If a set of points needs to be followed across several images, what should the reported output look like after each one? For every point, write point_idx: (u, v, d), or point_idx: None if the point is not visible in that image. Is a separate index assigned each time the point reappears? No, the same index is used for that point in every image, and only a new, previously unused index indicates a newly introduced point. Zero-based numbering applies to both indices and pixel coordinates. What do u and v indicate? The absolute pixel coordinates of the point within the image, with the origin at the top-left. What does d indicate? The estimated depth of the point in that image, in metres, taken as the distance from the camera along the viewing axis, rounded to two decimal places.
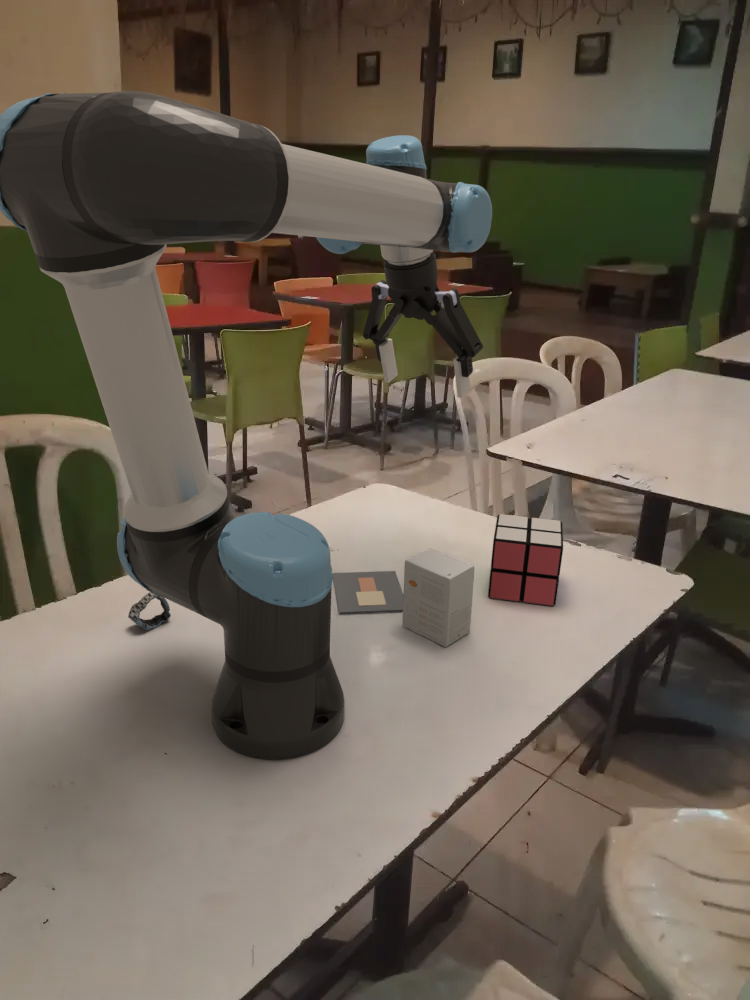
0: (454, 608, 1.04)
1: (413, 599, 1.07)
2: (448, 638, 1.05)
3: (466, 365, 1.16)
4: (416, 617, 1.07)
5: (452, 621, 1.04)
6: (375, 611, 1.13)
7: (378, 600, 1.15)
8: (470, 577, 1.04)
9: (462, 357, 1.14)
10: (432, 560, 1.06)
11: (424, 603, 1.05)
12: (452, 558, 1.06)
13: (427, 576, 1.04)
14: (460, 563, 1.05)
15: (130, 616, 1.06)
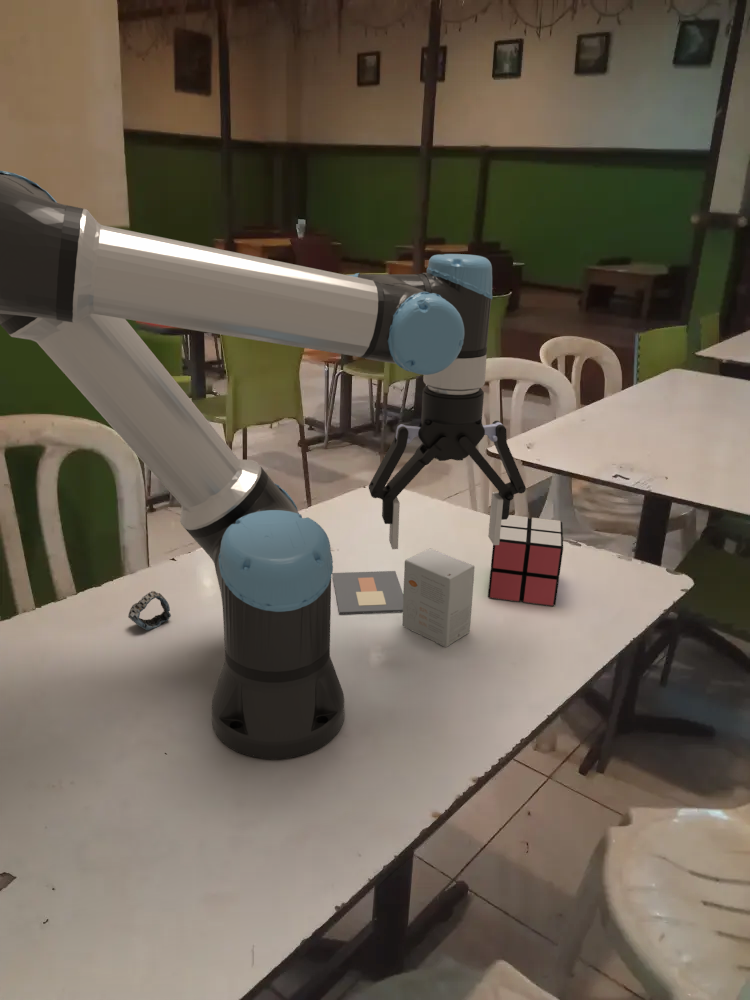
0: (455, 608, 1.04)
1: (413, 599, 1.07)
2: (448, 638, 1.05)
3: (508, 505, 1.03)
4: (416, 617, 1.07)
5: (452, 621, 1.04)
6: (375, 611, 1.13)
7: (378, 600, 1.15)
8: (470, 577, 1.04)
9: (512, 495, 1.01)
10: (432, 560, 1.06)
11: (424, 603, 1.05)
12: (452, 558, 1.06)
13: (427, 576, 1.04)
14: (460, 563, 1.05)
15: (130, 616, 1.06)
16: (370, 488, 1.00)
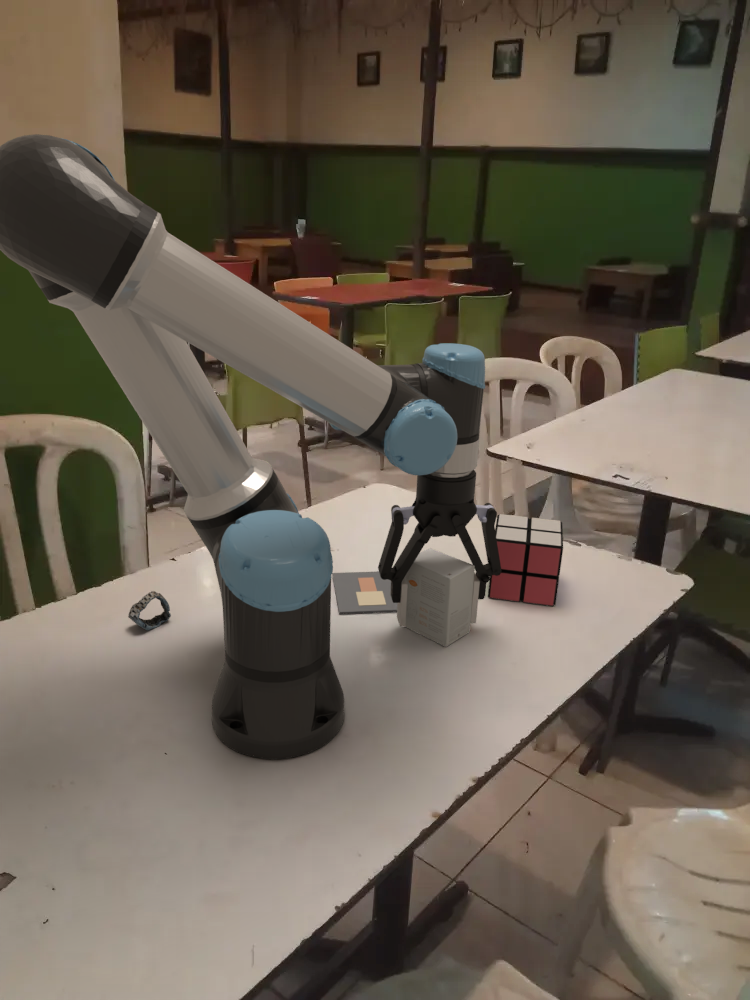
0: (455, 608, 1.04)
1: (413, 599, 1.07)
2: (448, 638, 1.05)
3: (484, 586, 1.07)
4: (416, 617, 1.07)
5: (452, 620, 1.04)
6: (375, 611, 1.13)
7: (378, 600, 1.15)
8: (470, 576, 1.04)
9: (488, 578, 1.05)
10: (432, 560, 1.06)
11: (424, 603, 1.05)
12: (452, 558, 1.06)
13: (427, 575, 1.04)
14: (460, 563, 1.05)
15: (130, 616, 1.06)
16: (379, 569, 1.04)
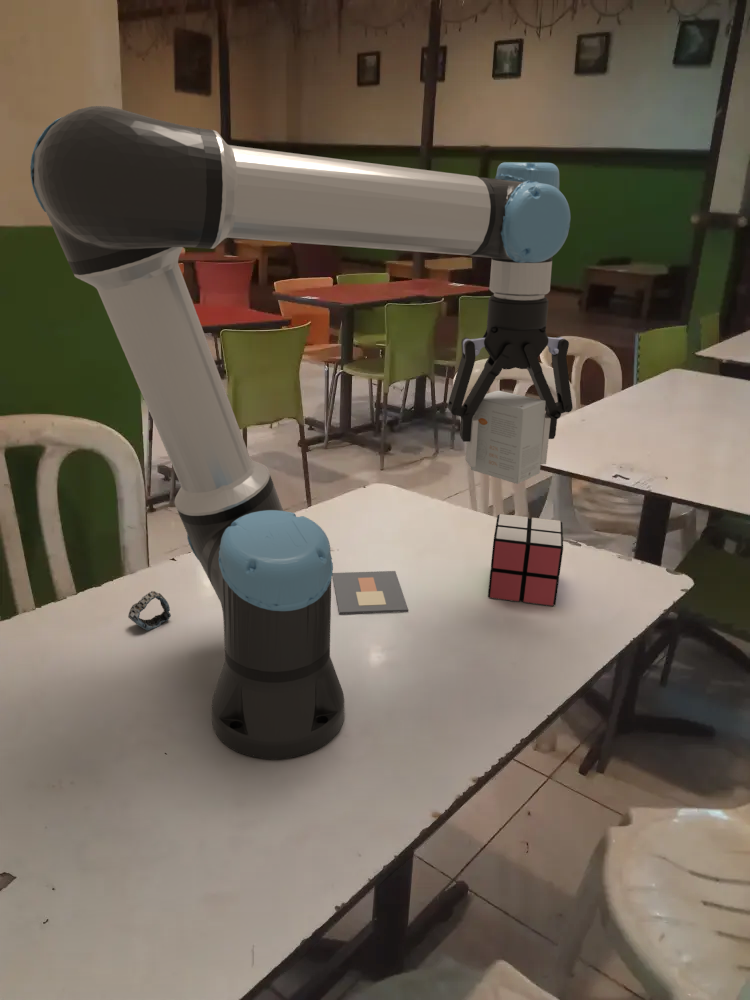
0: (526, 442, 1.03)
1: (483, 438, 1.06)
2: (519, 475, 1.04)
3: (555, 424, 1.06)
4: (486, 457, 1.06)
5: (524, 456, 1.03)
6: (375, 611, 1.13)
7: (378, 600, 1.15)
8: (541, 411, 1.03)
9: (560, 414, 1.04)
10: (502, 397, 1.05)
11: (495, 441, 1.04)
12: (522, 396, 1.05)
13: (498, 410, 1.03)
14: (531, 399, 1.04)
15: (130, 616, 1.06)
16: (450, 406, 1.04)
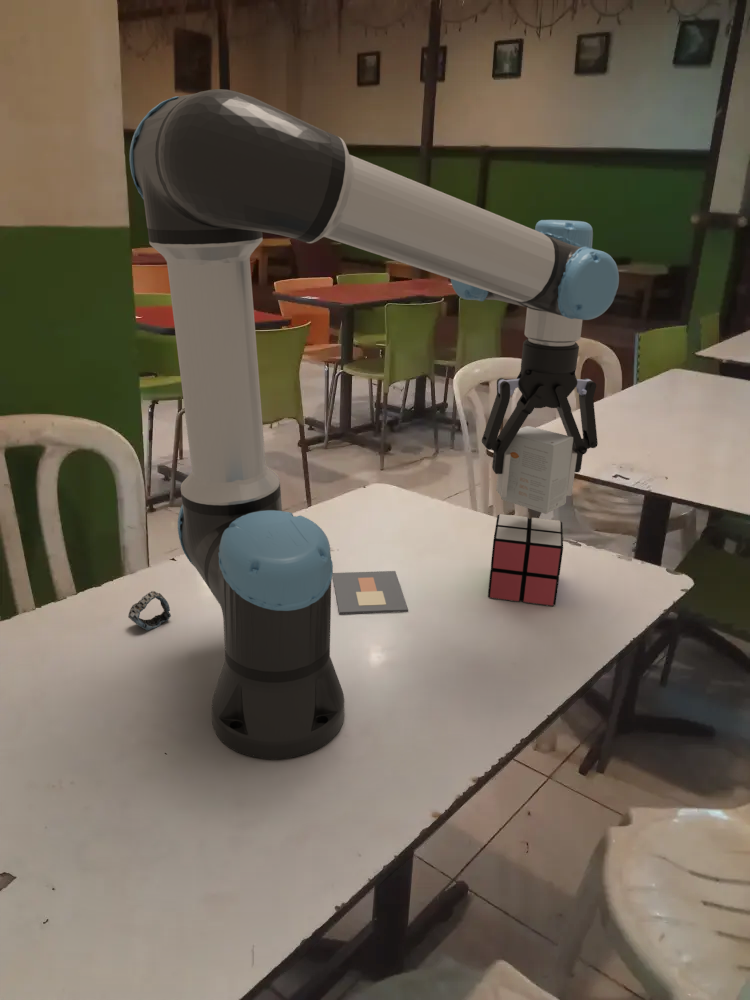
0: (555, 475, 1.10)
1: (514, 471, 1.13)
2: (548, 505, 1.11)
3: (580, 459, 1.14)
4: (516, 488, 1.14)
5: (553, 488, 1.11)
6: (375, 611, 1.13)
7: (378, 600, 1.15)
8: (569, 447, 1.11)
9: (586, 450, 1.12)
10: (533, 433, 1.12)
11: (525, 473, 1.12)
12: (551, 432, 1.13)
13: (530, 445, 1.10)
14: (559, 435, 1.12)
15: (130, 616, 1.06)
16: (484, 441, 1.11)
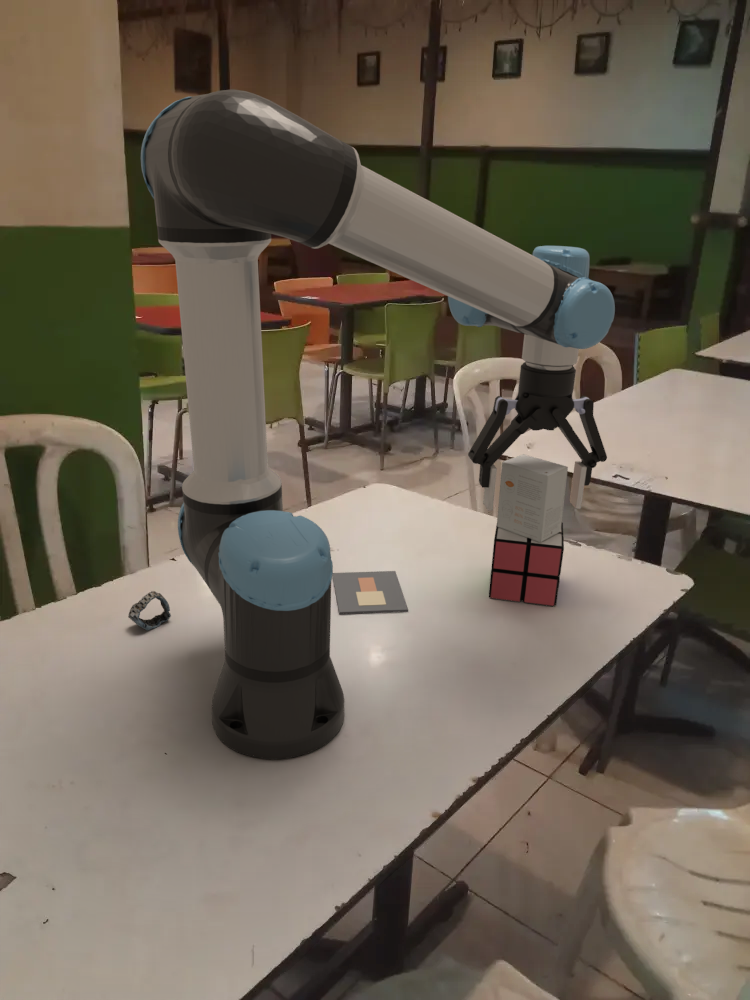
0: (550, 505, 1.12)
1: (509, 499, 1.15)
2: (543, 534, 1.13)
3: (590, 472, 1.15)
4: (512, 516, 1.15)
5: (547, 517, 1.12)
6: (375, 611, 1.13)
7: (378, 600, 1.15)
8: (563, 476, 1.13)
9: None
10: (528, 462, 1.14)
11: (520, 502, 1.14)
12: (546, 461, 1.15)
13: (524, 475, 1.12)
14: (554, 464, 1.13)
15: (130, 616, 1.06)
16: (471, 455, 1.12)
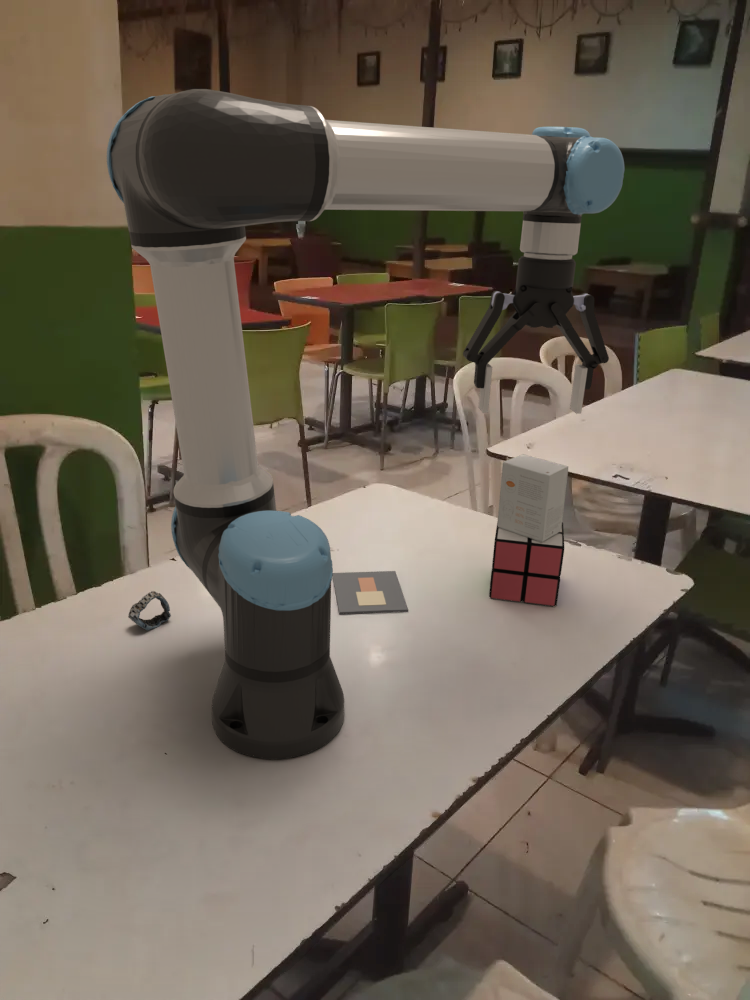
0: (551, 504, 1.12)
1: (510, 499, 1.15)
2: (544, 534, 1.13)
3: (591, 375, 1.10)
4: (512, 516, 1.15)
5: (549, 517, 1.12)
6: (375, 611, 1.13)
7: (378, 600, 1.15)
8: (564, 476, 1.13)
9: (596, 363, 1.09)
10: (528, 462, 1.14)
11: (521, 502, 1.14)
12: (546, 461, 1.15)
13: (526, 475, 1.12)
14: (555, 464, 1.13)
15: (130, 616, 1.06)
16: (465, 353, 1.08)
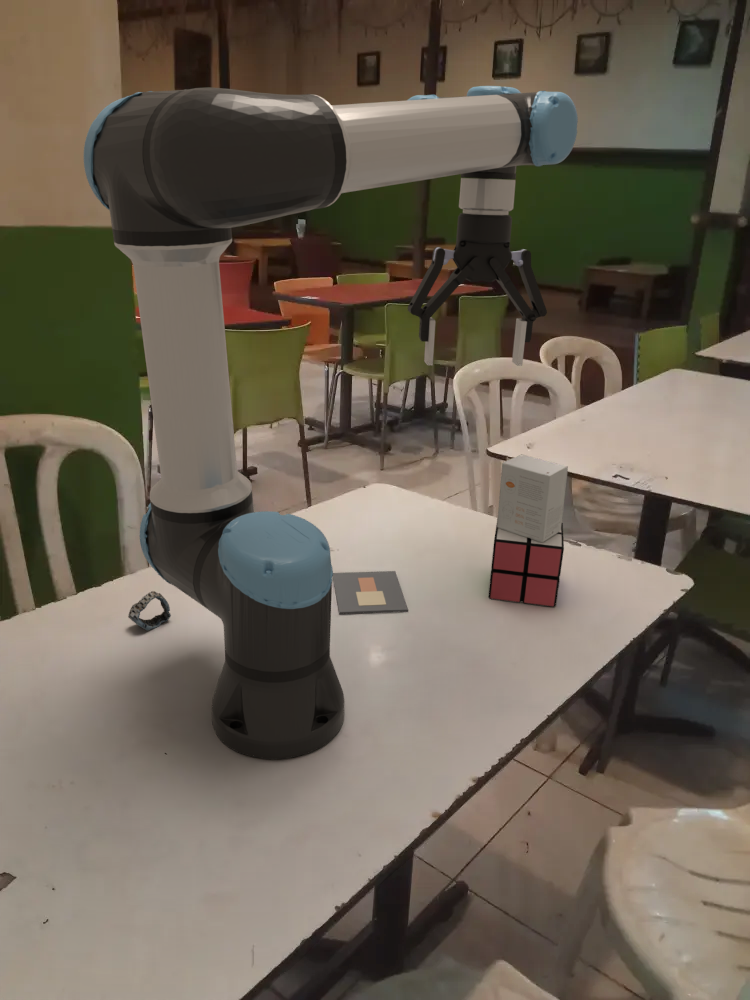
0: (551, 505, 1.12)
1: (510, 500, 1.15)
2: (544, 534, 1.13)
3: (531, 328, 1.15)
4: (512, 517, 1.15)
5: (549, 517, 1.12)
6: (375, 611, 1.13)
7: (378, 600, 1.15)
8: (564, 476, 1.13)
9: (535, 316, 1.14)
10: (528, 462, 1.14)
11: (521, 503, 1.13)
12: (545, 461, 1.14)
13: (525, 475, 1.12)
14: (554, 464, 1.13)
15: (130, 616, 1.06)
16: (409, 307, 1.12)
